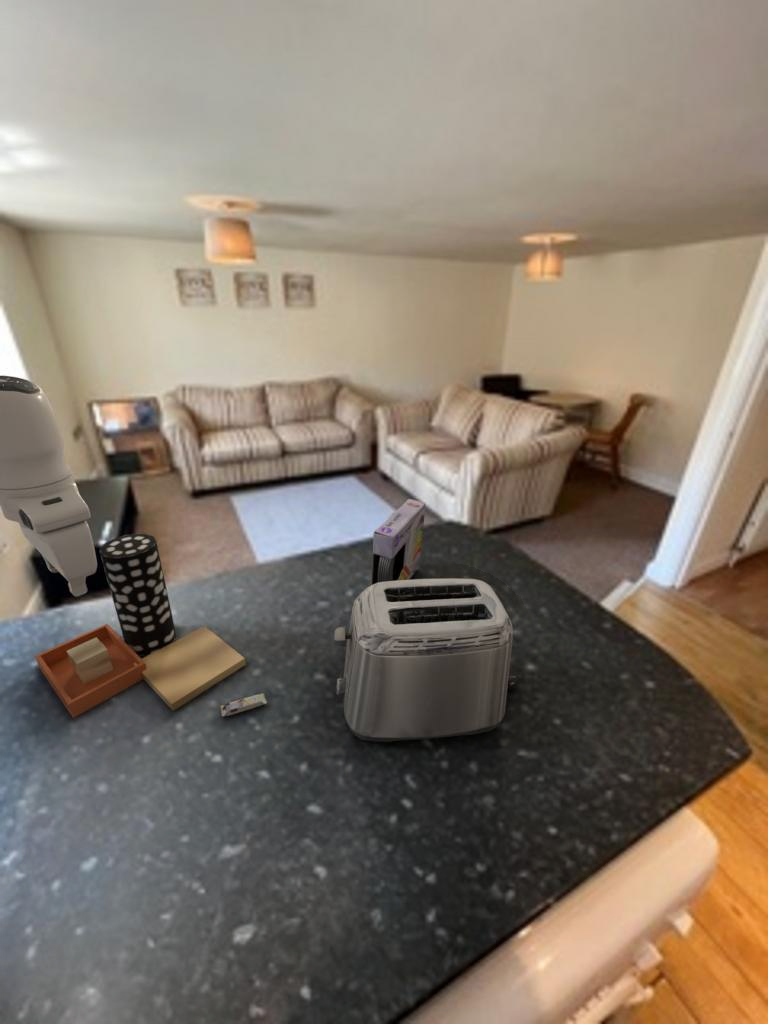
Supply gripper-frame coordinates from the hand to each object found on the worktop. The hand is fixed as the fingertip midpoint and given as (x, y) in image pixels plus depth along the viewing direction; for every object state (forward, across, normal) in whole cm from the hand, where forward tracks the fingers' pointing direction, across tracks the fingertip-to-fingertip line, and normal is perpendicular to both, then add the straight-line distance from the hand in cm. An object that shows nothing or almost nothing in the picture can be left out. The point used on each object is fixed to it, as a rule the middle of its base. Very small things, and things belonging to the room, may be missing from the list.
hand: (67, 581), depth 68 cm
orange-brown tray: (+18, 0, 0) cm, 18 cm away
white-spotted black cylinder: (+18, -1, +10) cm, 20 cm away
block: (+18, 0, 0) cm, 18 cm away
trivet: (+18, +11, +11) cm, 24 cm away
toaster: (+18, +46, +32) cm, 59 cm away
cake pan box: (+18, +22, +54) cm, 61 cm away
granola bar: (+18, +25, +12) cm, 33 cm away
